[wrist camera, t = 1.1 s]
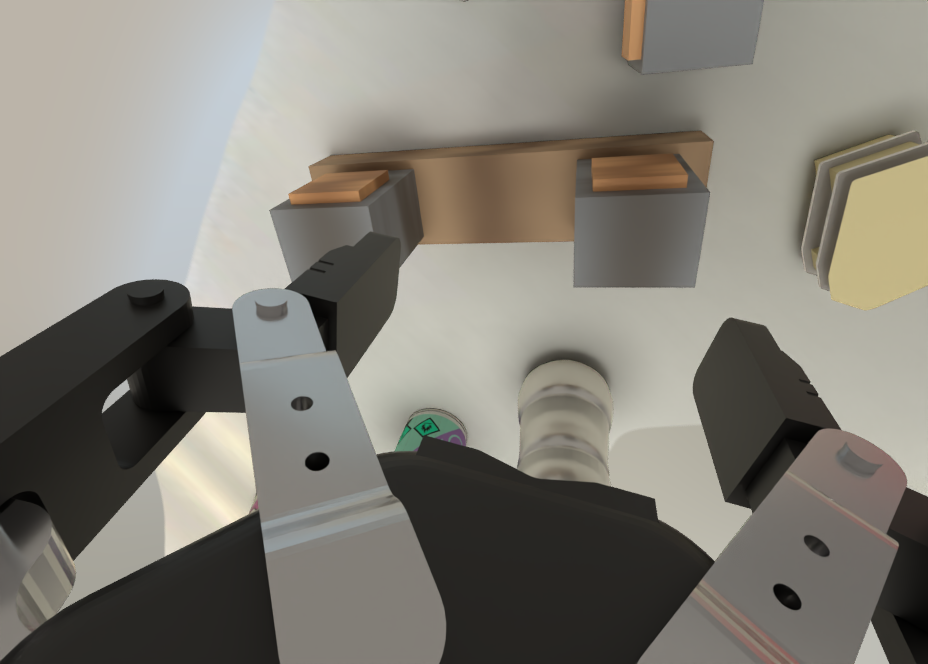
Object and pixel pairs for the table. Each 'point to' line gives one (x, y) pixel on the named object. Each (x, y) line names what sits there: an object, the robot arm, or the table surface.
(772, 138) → the table surface
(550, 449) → the plastic bottle
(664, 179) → the rail
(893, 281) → the stacked layers on plate
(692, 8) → the grey block
